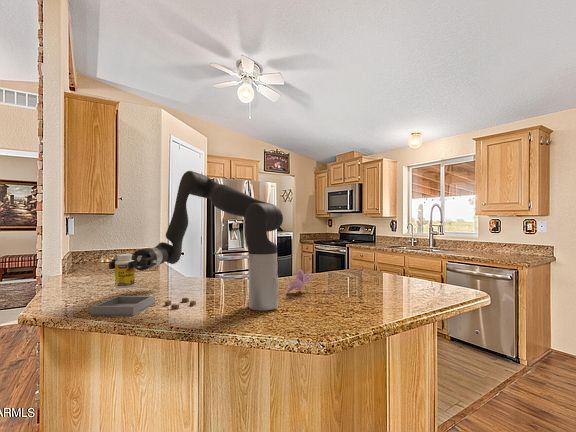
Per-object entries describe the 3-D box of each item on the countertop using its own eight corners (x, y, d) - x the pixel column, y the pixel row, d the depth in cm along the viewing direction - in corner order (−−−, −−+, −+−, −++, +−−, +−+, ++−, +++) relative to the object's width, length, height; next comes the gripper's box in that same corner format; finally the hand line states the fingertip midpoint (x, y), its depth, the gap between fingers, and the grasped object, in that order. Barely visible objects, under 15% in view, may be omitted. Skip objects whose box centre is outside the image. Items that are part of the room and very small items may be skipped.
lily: (317, 293, 121) (306, 270, 124) (326, 287, 110) (314, 262, 113) (290, 305, 117) (279, 282, 120) (296, 300, 106) (285, 275, 109)
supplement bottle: (115, 289, 94) (115, 256, 94) (114, 286, 99) (113, 254, 99) (136, 286, 97) (135, 254, 97) (133, 283, 102) (133, 252, 102)
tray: (154, 303, 104) (154, 296, 104) (133, 315, 91) (133, 306, 91) (117, 303, 104) (117, 296, 104) (91, 315, 91) (91, 306, 91)
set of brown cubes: (199, 301, 106) (199, 297, 106) (189, 309, 97) (189, 305, 97) (172, 301, 107) (172, 297, 107) (159, 309, 97) (159, 305, 97)
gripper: (128, 248, 113) (97, 253, 96) (166, 248, 112) (142, 253, 95) (128, 268, 113) (97, 277, 96) (166, 268, 112) (142, 277, 95)
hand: (120, 265), depth 95 cm, fingers closed on supplement bottle, 5 cm apart
